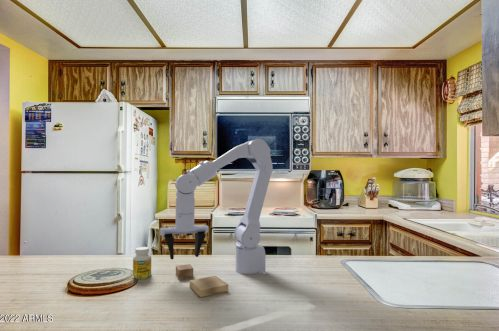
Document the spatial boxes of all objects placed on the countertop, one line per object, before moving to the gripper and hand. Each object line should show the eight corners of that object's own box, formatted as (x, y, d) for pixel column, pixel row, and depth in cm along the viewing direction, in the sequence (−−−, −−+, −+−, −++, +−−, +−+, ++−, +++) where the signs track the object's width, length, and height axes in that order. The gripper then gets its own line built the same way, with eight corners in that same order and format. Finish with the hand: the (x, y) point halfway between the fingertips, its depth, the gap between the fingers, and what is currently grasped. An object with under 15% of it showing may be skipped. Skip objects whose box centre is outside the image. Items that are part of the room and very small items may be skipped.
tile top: (215, 281, 91) (215, 275, 91) (228, 291, 84) (228, 284, 84) (189, 286, 86) (189, 280, 87) (200, 297, 80) (200, 290, 80)
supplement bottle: (148, 275, 99) (148, 245, 99) (153, 280, 94) (153, 248, 95) (130, 278, 96) (131, 247, 96) (135, 283, 92) (135, 251, 92)
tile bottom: (218, 288, 90) (218, 282, 90) (227, 298, 83) (227, 292, 83) (190, 292, 87) (191, 286, 87) (197, 303, 80) (197, 296, 80)
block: (189, 276, 98) (190, 264, 98) (193, 281, 94) (193, 268, 94) (175, 278, 97) (175, 265, 97) (178, 283, 92) (178, 270, 93)
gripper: (204, 210, 102) (203, 251, 102) (159, 212, 96) (158, 256, 96) (210, 213, 96) (209, 257, 96) (162, 215, 90) (161, 262, 90)
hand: (184, 257), depth 95 cm, fingers open, 7 cm apart
